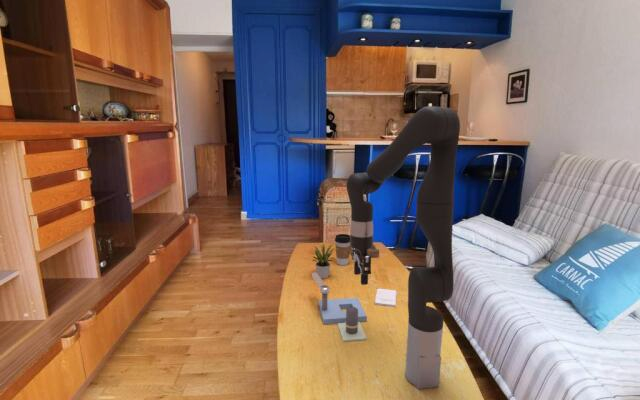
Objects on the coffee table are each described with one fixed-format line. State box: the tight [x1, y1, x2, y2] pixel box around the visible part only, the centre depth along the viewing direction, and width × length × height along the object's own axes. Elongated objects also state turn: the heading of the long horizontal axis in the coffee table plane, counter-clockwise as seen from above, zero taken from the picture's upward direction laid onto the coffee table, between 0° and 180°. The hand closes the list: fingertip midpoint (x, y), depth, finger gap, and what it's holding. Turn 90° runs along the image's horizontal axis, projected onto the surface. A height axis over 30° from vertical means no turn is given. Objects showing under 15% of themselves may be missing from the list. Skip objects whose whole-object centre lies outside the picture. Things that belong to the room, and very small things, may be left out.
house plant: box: [311, 242, 336, 280], centre depth 164 cm, size 14×14×16 cm
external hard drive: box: [374, 288, 397, 308], centre depth 145 cm, size 2×8×12 cm
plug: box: [345, 307, 359, 334], centre depth 120 cm, size 5×5×8 cm
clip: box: [311, 271, 331, 294], centre depth 137 cm, size 4×16×2 cm, turn 17°
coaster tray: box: [349, 243, 380, 259], centre depth 194 cm, size 14×14×4 cm
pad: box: [337, 322, 368, 343], centre depth 122 cm, size 10×8×1 cm
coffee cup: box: [334, 233, 350, 266], centre depth 179 cm, size 8×8×15 cm
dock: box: [317, 293, 368, 325], centre depth 133 cm, size 14×16×9 cm
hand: (360, 279), depth 118 cm, fingers open, 8 cm apart
